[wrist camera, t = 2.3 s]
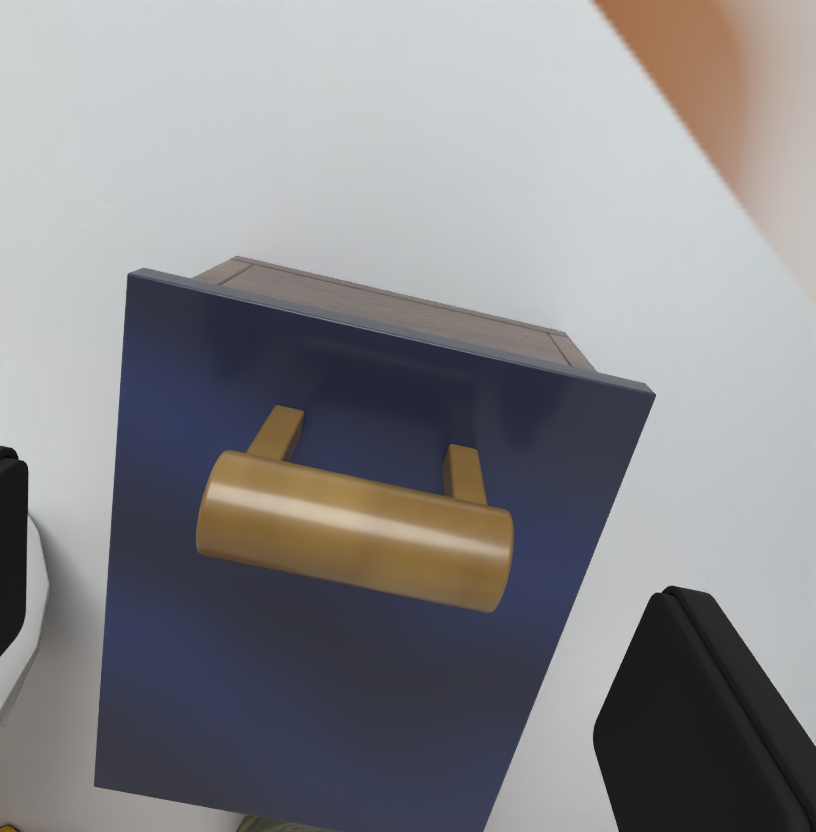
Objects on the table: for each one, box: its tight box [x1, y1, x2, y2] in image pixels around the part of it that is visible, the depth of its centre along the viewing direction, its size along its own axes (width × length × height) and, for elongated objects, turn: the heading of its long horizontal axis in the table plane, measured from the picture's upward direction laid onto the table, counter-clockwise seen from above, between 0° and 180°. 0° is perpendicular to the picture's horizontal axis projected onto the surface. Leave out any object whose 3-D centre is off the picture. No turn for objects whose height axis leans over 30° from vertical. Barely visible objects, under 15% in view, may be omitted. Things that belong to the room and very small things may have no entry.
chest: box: [191, 256, 597, 372], centre depth 21 cm, size 15×12×8 cm
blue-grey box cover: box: [94, 268, 656, 832], centre depth 15 cm, size 15×12×6 cm
